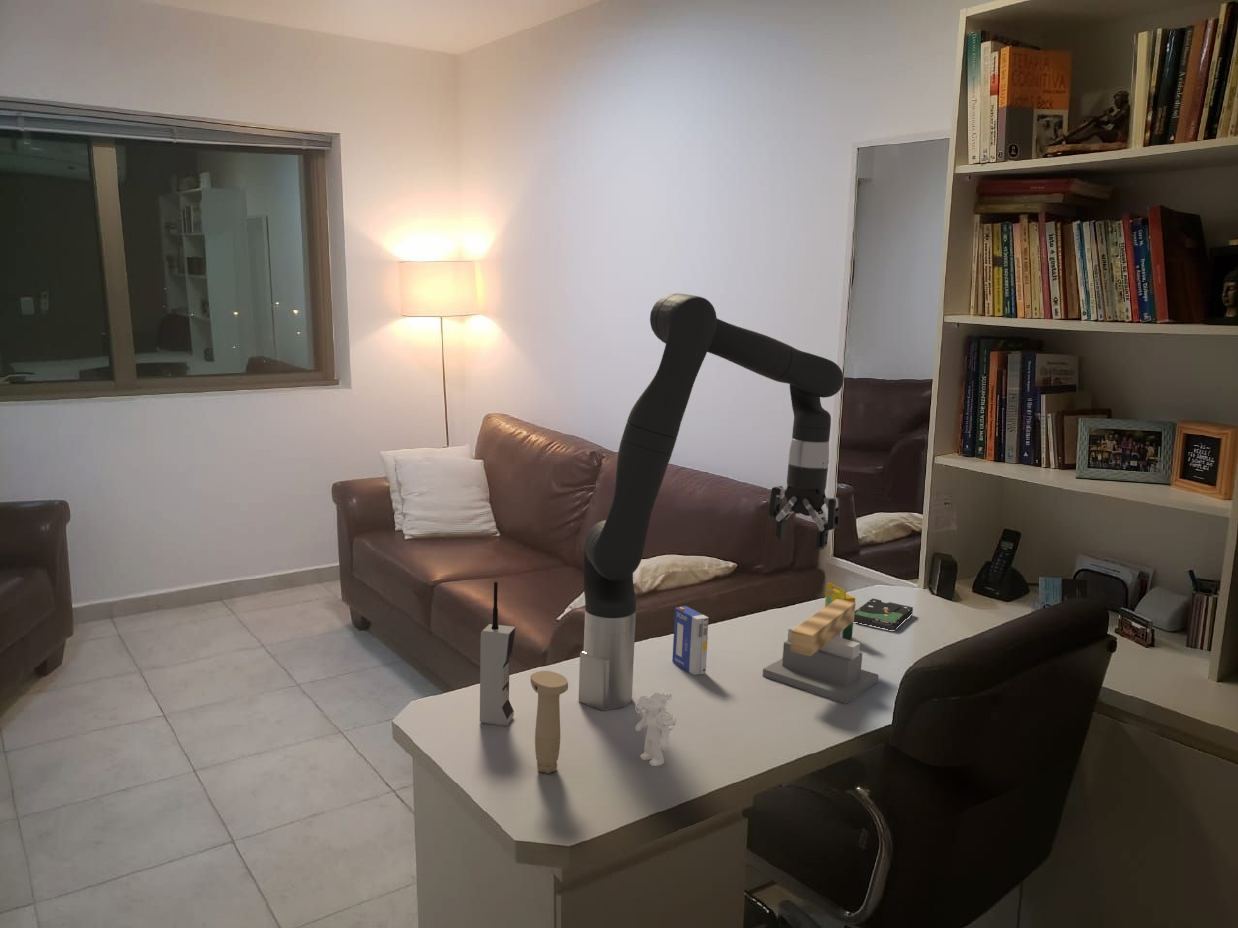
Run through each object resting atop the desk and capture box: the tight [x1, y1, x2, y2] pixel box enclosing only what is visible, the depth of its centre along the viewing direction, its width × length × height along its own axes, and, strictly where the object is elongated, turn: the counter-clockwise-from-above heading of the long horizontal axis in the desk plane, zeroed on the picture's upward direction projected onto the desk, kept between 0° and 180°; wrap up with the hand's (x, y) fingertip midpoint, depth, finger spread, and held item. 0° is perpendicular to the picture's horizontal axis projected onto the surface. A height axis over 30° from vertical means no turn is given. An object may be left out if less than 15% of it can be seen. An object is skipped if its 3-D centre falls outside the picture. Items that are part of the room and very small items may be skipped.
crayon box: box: [824, 581, 856, 641], centre depth 207 cm, size 7×3×12 cm, turn 22°
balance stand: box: [762, 624, 879, 704], centre depth 183 cm, size 14×18×9 cm
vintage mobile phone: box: [479, 581, 516, 727], centre depth 158 cm, size 4×5×25 cm
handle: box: [530, 670, 569, 774], centre depth 143 cm, size 5×6×15 cm
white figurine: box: [634, 692, 677, 767], centre depth 148 cm, size 9×4×12 cm, turn 33°
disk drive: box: [854, 598, 914, 631], centre depth 220 cm, size 10×3×15 cm
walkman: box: [672, 605, 709, 676], centre depth 185 cm, size 8×3×12 cm, turn 31°
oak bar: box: [790, 599, 856, 656], centre depth 182 cm, size 24×4×4 cm, turn 147°
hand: (800, 544), depth 181 cm, fingers open, 8 cm apart
